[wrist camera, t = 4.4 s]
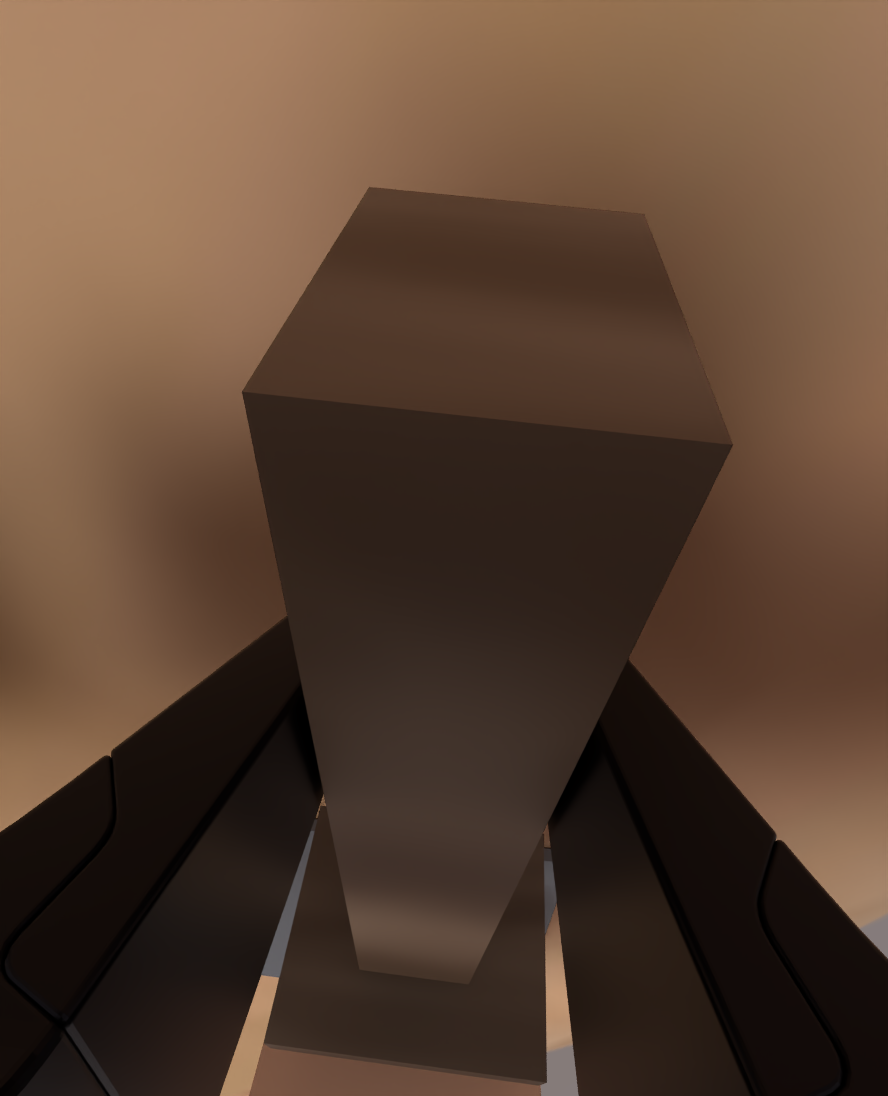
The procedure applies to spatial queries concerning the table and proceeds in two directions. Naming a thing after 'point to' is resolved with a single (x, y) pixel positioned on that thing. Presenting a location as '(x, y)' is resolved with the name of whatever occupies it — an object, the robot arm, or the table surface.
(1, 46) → the table surface
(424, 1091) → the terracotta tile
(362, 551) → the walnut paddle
